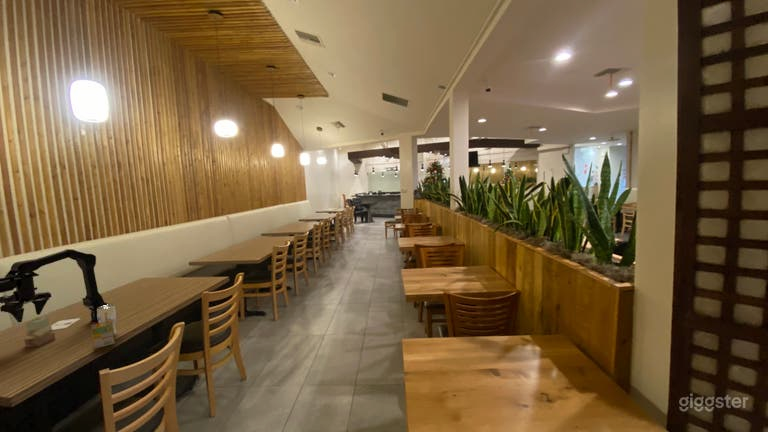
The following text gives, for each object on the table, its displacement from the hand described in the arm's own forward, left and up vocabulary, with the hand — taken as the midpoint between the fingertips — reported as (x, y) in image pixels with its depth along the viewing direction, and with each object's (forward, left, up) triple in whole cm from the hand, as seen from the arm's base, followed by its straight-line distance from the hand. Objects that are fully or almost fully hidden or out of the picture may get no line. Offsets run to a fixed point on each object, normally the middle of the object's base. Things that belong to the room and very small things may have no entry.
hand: (29, 318), depth 148 cm
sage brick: (-3, 0, -5) cm, 6 cm away
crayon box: (-38, +10, -13) cm, 41 cm away
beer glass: (-32, -2, -13) cm, 35 cm away
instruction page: (+5, -23, -13) cm, 27 cm away
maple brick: (-3, 0, -9) cm, 10 cm away
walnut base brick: (-3, 0, -13) cm, 14 cm away
